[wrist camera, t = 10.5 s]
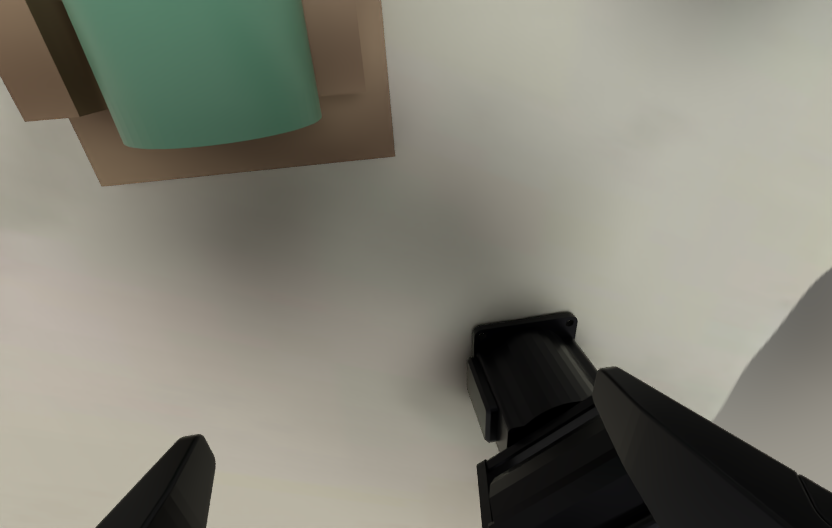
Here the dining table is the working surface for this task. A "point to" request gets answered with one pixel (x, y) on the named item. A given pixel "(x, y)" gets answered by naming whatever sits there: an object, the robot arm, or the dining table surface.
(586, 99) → the dining table surface
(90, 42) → the small bottle
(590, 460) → the robot arm
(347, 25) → the bottle rest
